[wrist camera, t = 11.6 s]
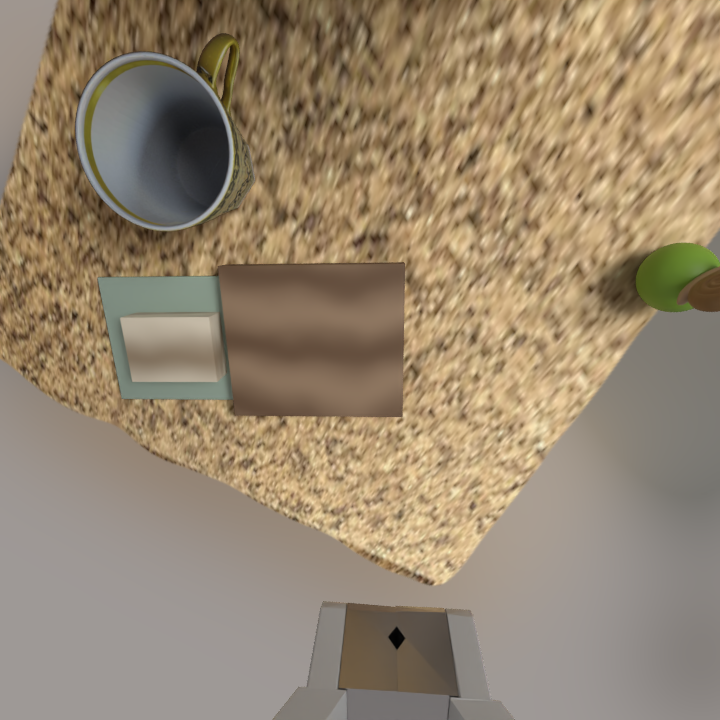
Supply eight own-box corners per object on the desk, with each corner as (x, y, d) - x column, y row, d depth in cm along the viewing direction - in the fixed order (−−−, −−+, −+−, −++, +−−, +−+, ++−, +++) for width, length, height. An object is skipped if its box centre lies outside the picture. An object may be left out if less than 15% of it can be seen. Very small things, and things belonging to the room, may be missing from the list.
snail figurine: (710, 273, 35) (870, 293, 24) (640, 318, 36) (758, 356, 25) (682, 220, 34) (835, 213, 22) (610, 268, 35) (719, 285, 24)
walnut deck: (226, 264, 37) (217, 266, 35) (403, 262, 36) (404, 264, 34) (241, 406, 41) (235, 415, 39) (401, 408, 40) (402, 416, 38)
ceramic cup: (234, 255, 37) (182, 262, 27) (138, 181, 35) (47, 162, 26) (319, 125, 33) (293, 82, 24) (216, 38, 32) (145, -45, 22)
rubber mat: (101, 277, 38) (97, 277, 37) (227, 275, 37) (225, 276, 37) (125, 396, 41) (122, 398, 41) (240, 397, 41) (239, 399, 40)
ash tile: (136, 312, 38) (119, 317, 36) (219, 311, 38) (208, 316, 35) (147, 373, 40) (132, 381, 38) (227, 373, 40) (217, 381, 37)
